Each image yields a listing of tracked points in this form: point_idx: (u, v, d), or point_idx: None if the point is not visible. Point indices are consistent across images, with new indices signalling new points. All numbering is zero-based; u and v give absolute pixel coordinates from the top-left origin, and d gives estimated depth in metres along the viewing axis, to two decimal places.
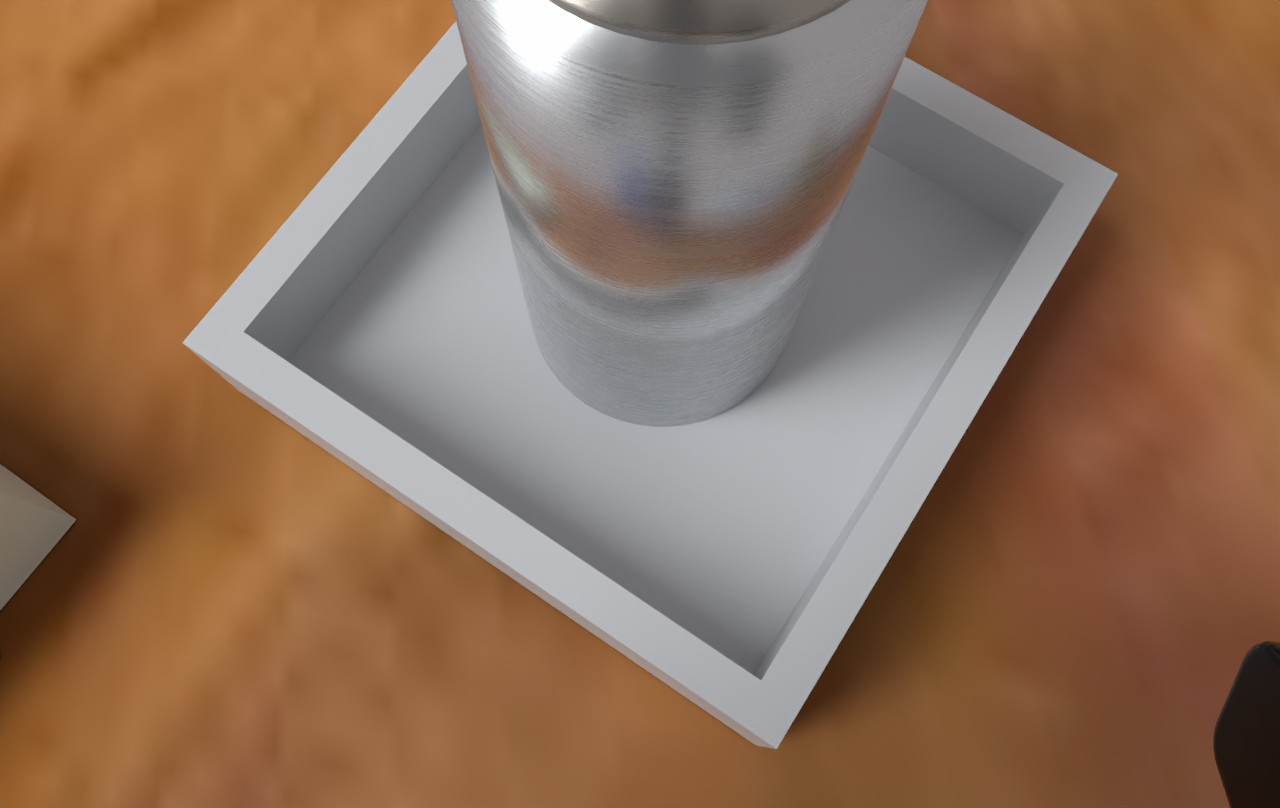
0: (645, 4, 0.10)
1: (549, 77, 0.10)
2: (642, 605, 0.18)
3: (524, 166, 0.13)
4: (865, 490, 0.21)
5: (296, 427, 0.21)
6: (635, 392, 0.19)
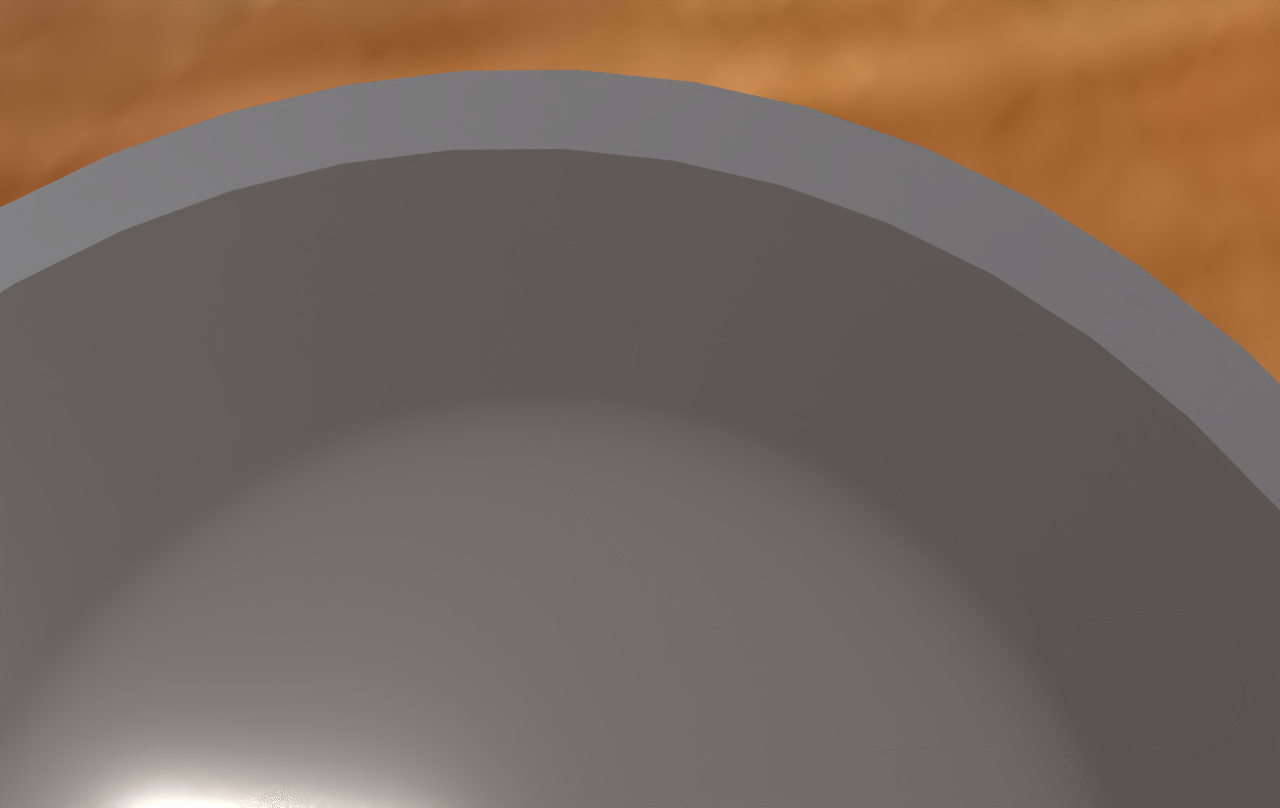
0: None
1: None
2: None
3: None
4: None
5: None
6: None
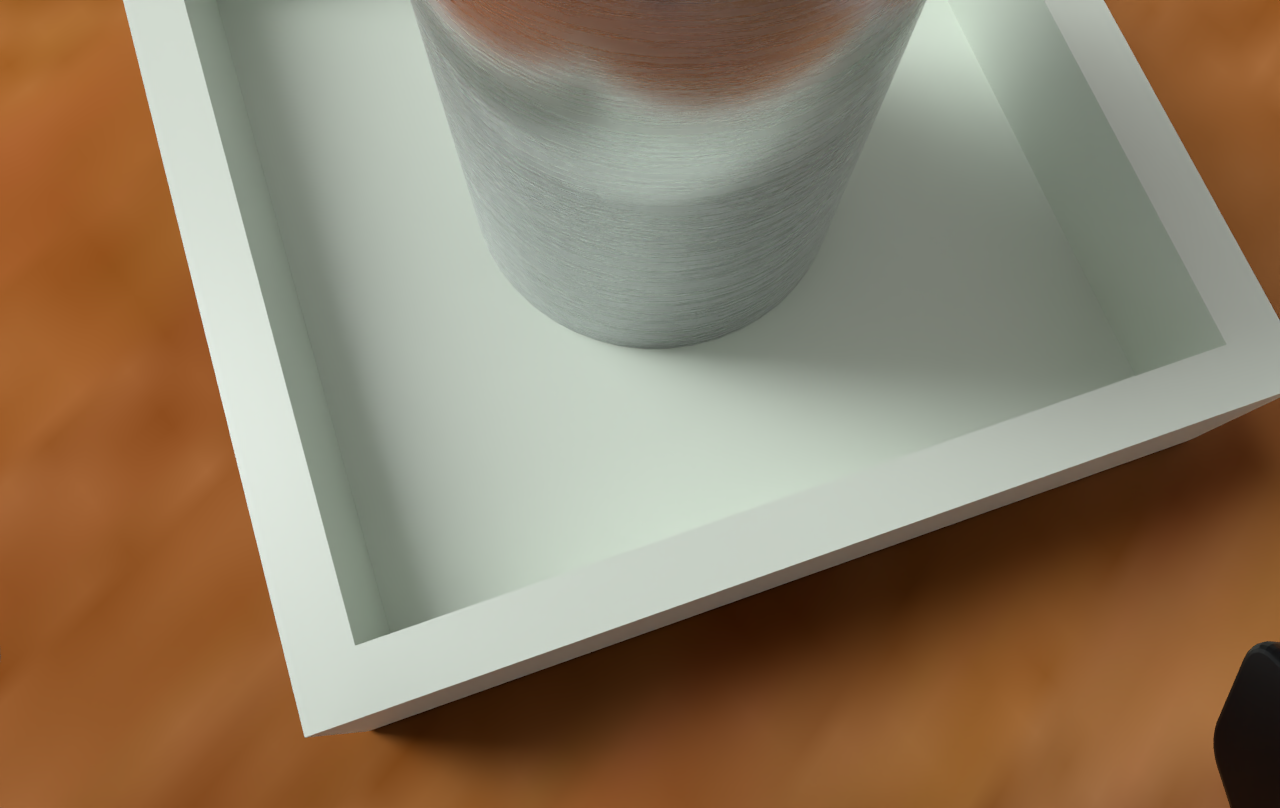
0: None
1: None
2: None
3: None
4: None
5: None
6: (616, 289, 0.13)
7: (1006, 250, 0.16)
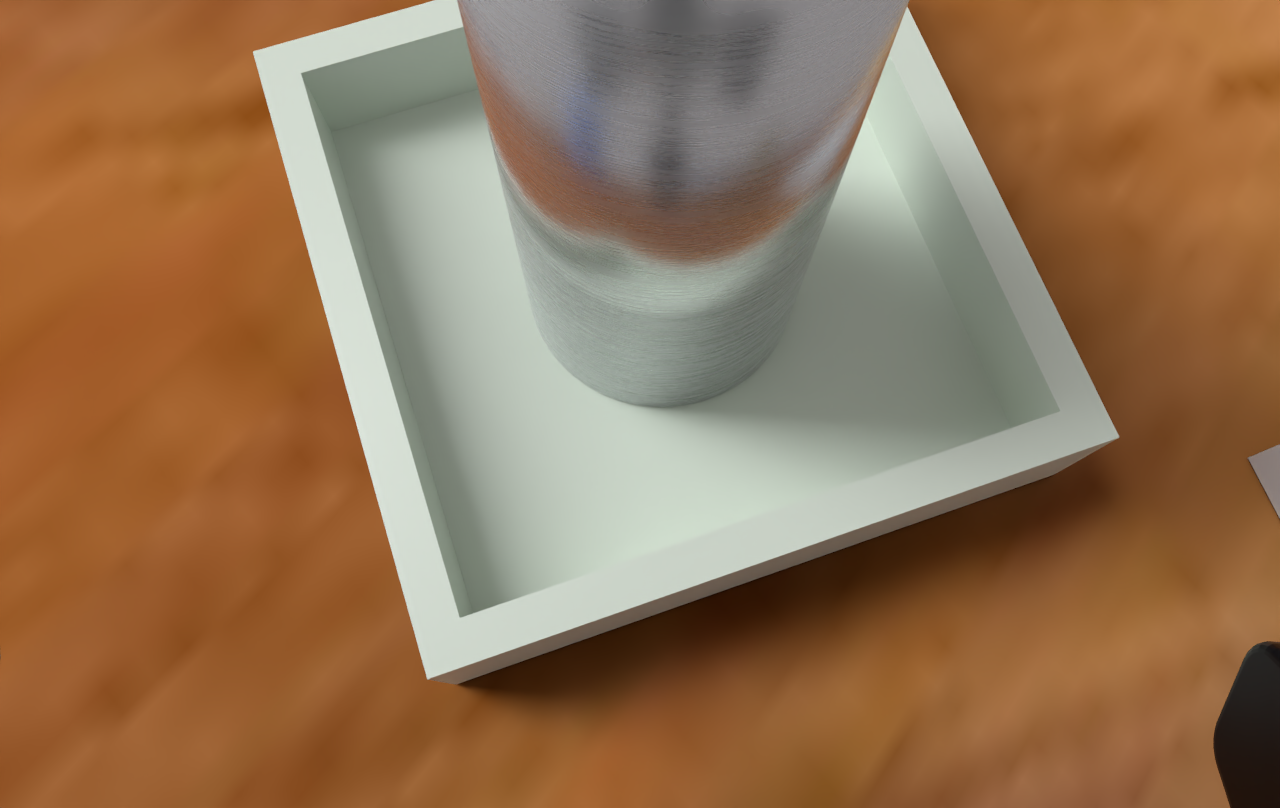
0: None
1: (544, 27, 0.10)
2: None
3: (520, 127, 0.13)
4: None
5: None
6: (634, 369, 0.19)
7: (919, 334, 0.22)
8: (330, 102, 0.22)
